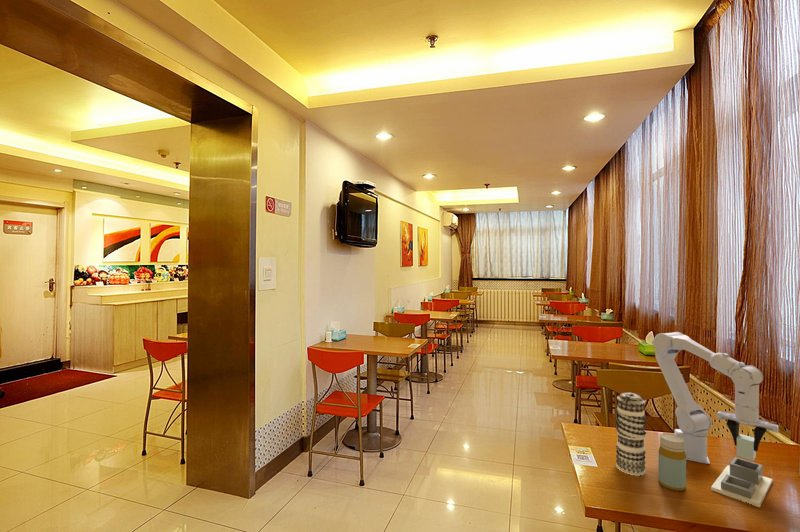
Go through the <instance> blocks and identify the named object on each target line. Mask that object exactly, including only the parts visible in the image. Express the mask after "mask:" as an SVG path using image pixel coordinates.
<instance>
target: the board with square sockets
mask: <svg viewBox="0 0 800 532" xmlns="http://www.w3.org/2000/svg"><path fill="white" fill-rule="evenodd" d="M763 470H764V467H763V464H760V463H757V462H754V461H751V460H748V459H745V458H741V457H738V456H734V458H733V459H732V460H731V461H730V463H729V465H726V466H725V468H724V469H723V470H722V472H721V473H720V475H719V476H718V477H717V478H716V480H715V481H714V482H713V484H712V485H711V486H710V489H711V491H713V492H716V493H718V494H721V495H724V496H727V497H729V498H733V499H734V498H735V500H737V499H738V500H737V501H740V500H741V501H740V502H743V503H746V502H747V503H746V504H748V503H749V505H751V504H752V505H751V506H755V507H757V508H761V506H762V503H763V502H764V500H765V498H766V496H767V493H768V492H769V490H770V488H771V486H772V484H773V478H770V477H767V476H764V475H763V474H764V473H763Z"/></svg>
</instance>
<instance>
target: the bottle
mask: <svg viewBox="0 0 800 532" xmlns="http://www.w3.org/2000/svg"><path fill="white" fill-rule="evenodd" d="M659 437H660V438H659V443H660V444H659V448H658V460H657V461H658V468H657V469H658V472H657V475H658V482H659V484H660V485H661V486H662V487H664V488H665V487H666V489H667V488H668V489H667V490H670V491H673V490H675V491H674V492H682V491H684V490H685V489H686V488H687V460H686V454H685V452H684V443H685V441H684V439H683V438H682V437H680V436H678V435H674V433H666V432H665V433H661V434H660V435H659Z"/></svg>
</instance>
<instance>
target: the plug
mask: <svg viewBox="0 0 800 532" xmlns="http://www.w3.org/2000/svg"><path fill="white" fill-rule="evenodd" d="M736 457H737V458H741V459H744V460H747V461H751V462H754V461H755V459H756V458H757V451H754V436H753V437H752V436H749V435H746V434H741V433H739V435H738V436H737V446H736Z"/></svg>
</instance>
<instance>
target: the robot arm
mask: <svg viewBox="0 0 800 532" xmlns="http://www.w3.org/2000/svg"><path fill="white" fill-rule="evenodd" d="M652 345H653V348H654V354H655V359H656V361H657V365H658V366H659V368H660V371H661V373H662V375H663V377H664V380H665V381H666V384H667V386H668V388H669V390H670V392H671V394H672V397H673V398H674V401H675V403H676V405H677V407H676V409H675V411H674V414H675V416H676V424H677V426H678V428H675V429H674V431H673V432H674V433H673V434H674V435H678V436H680V437H682V438H683V439H684V441H685V443H684V452H685V454H686V461H690V462H695V463H696V462H697V463H701V464H707V465H711V462H710V459H709V457H708V431H709V429H711V428H712V425H713V423H712V422H713V421H712V419H711V416H709V415H708V414H707V413H706V412H705V410H704V409H703V406H701V405H700V404H699V403H696V402H695V400H694V398H693V396H692V393H691V392H690V391H691V390H690V389H689V387H688V385H687V383H686V381H685V379H684V376H683V375H682V373H681V371H680V369H679V367H678V365H677V363H676V360H675V359H676V356H677V355H678V354H679V353H680V351H682V350H683V351H686V352H688V353H691V354H693V355H695V356H697V357H700V358H701V359H702V360H704V361H707V362H708V364H709V365H710V367H711V368H712V369H715V370H716V371H718V372H720V373H722V374H724V375H725V376H727V377H729V378H730V379H731V381H732V382H733V384H734V413H730V412H724V411H717V412H716V419H717V420H725V421H726V426H727V428H728V430H729V432H730V434H731V436H732V438H733V443H734V446H736V447H737V436H738V435H739V434H740V433H739V432H740V424H741V425H746V426H749V427H754V429H753V437H754V451H756V452H758V450H759V446H760V443H761V441H762V438H763V437H764V435H765V433H766V432H767V431H770V432H772V433H775V434H778V433H779V424H774V423H772V422H769V421H765V420H763V419H759V417H760V416H759V415H760V412H759V411H760V409H759V408H760V384H761V383H762V382H763V380H764V374H763V373H762V371H761V370H760V369H759V368H757V367H756V366H754V365H746V363H745V362H743V361H738V360H736V359H734V358H733V357H730V353H729V354H728V353H727V352H717V353H716V352H714V351H712V350H711V349H708V348H707V347H705V346H703V345H702V344H700V343H698V342H696V341H695V340H693V339H692V338H691V337H689V336H688V335H686V334H683V333H682V332H680V331H674V332H665V333H658V334H657V333H656V335H655V336H654V337H653V340H652Z"/></svg>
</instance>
